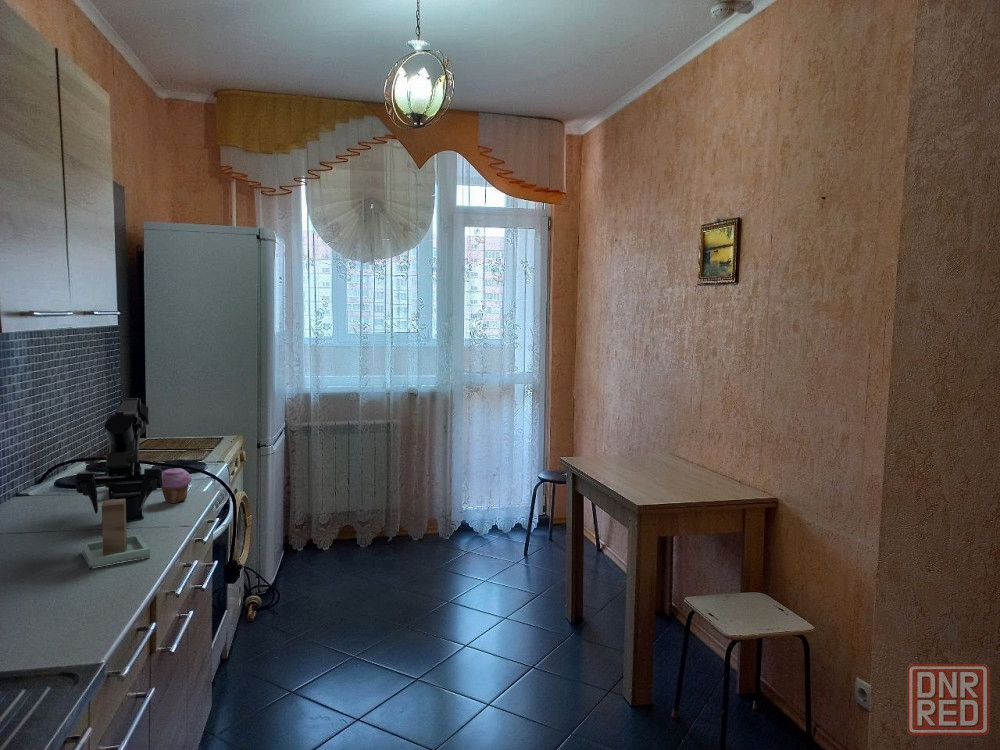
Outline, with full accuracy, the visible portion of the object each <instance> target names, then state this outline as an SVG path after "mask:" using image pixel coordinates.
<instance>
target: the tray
mask: <svg viewBox="0 0 1000 750" xmlns="http://www.w3.org/2000/svg"><path fill="white" fill-rule="evenodd" d="M81 554H82V557H83V556H84V557H83V559H84V558H85V559H84V561H85V560H86V561H85V563H86V562H87V563H86V565H87V564H88V565H87V567H88V566H89V567H88V569H89V568H93V567H97V566H103V565H107V564H113V563H117V562H122V561H128V560H134V559H142V558H147V557H150V558H151V550H150V547H149V546H148V545H147V543H146V541H145V540H144V539H143V538H142V537H141V534H131V535H128V536H127V550H126V552H122V553H117V554H111V555H106V556H103V540H98V541H92V542H85V543H81ZM142 560H143V559H142Z"/></svg>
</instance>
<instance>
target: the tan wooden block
mask: <svg viewBox="0 0 1000 750" xmlns="http://www.w3.org/2000/svg"><path fill="white" fill-rule="evenodd" d="M101 526H102V541H103V556H106V555H111V554H117V553H122V552H126V550H127V535H128V534H127V521H126V499H116V500H114V499H110V500H109V499H107V500H106V499H105V500H103V501H102V504H101Z"/></svg>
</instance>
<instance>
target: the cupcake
mask: <svg viewBox="0 0 1000 750" xmlns="http://www.w3.org/2000/svg"><path fill="white" fill-rule="evenodd" d="M162 475H163V486H162V487H160V488H161V491H162V495H163V498H164V500H165V501H166V502H168V503H170V504H176V503H179V502H183V501H186V499H187V497H188V489H189V486H190V484H191V482H192V476H191V475H190V473H189V472H188V471H187V470H186V469H184V468H180V467H179V468H178V467H177V468H168V469H165V470H162Z"/></svg>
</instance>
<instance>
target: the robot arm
mask: <svg viewBox="0 0 1000 750" xmlns="http://www.w3.org/2000/svg"><path fill="white" fill-rule="evenodd" d="M115 411H116V412H115ZM115 411H114V412H112V413H111V414H110V415H109V418H106V421H105V423H104V431H105V433H106V436H107V441H108V443H109V451H108V453H106V454H105V456H106V457H105V459H106V460H105V472H106V473H108V474H107V476H106V475H104V476H96V474H95V471H87V472H86V471H85V472H84V471H83V472H77V473H76V474H75V476H74V480H73V483H74V487H75V489H76V493H77V494H82V495H83V496H85V497H86V496H87V497H88V498H89V500H90V501H91V505H92V507H93V511H94V513H95V514H98V512H99V511H98V510H99V502H98V501H99V500H98V492H97V487H98V486H105V485H107V484H108V488H107V489H108V500H116V499H126V522H131V521H138V520H143V519H145V516H144V515H143V507H144V505H145V503H146V500H147V499H148V498H149V497H150V495H151V493H153V492H154V491H155V492H156V491H157V490H158V489H159V488H161V487H162V486H163V475H162V472H163V470H162V468H161V467H150V468H149V467H148V468H144V470H143V472H142V466H141V462H140V461H139V458H140V457H139V456H140V455H139V454H140V453H139V451H140V450H139V449H140V439H141V436H142V435H144V434H145V433H146V432H147V430H148V429H147V427H148V425H150V418H151V417H150V409H149V406H147V405H146V404H144V403H143V402H142V400H141V398H138V397H131V398H128V397H127V398H123V399H120V404H119V405H118V406H117V407H116V410H115Z"/></svg>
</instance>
